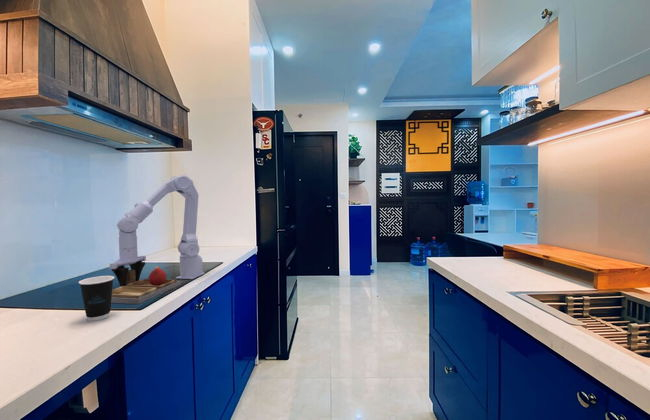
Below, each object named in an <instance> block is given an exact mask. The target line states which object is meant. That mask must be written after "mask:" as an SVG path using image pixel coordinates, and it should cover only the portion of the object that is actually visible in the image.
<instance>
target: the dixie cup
mask: <svg viewBox="0 0 650 420" xmlns="http://www.w3.org/2000/svg"><path fill="white" fill-rule="evenodd" d="M114 279H115V276H113V275H100V276H93V277H88V278H84V279H82V280H79V281H78V284H79V286H80V290H81V294H82V296H81V297H82V301H83V306H84V311H85V317H87V321H90V322H93V321H100V320H103V319H106V318H108V317H109V316H110V312H111V309H112V307H111V306H112V303H111V298H112V287H113V285H114Z"/></svg>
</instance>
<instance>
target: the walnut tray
mask: <svg viewBox="0 0 650 420" xmlns="http://www.w3.org/2000/svg"><path fill="white" fill-rule="evenodd" d="M176 281H177V280H176V279H167V278H166V281H165V282H164V283H163V284H162V285H161V286H153V285H151V284H150V282H149V278H142V279H139V281H136V278H135V270H131V269H128V273H127V283H126V286H127V287H154V288H157V289H162V288H164V287H166V286H169V285H171V284H174V283H176Z"/></svg>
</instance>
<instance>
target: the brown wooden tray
mask: <svg viewBox="0 0 650 420" xmlns="http://www.w3.org/2000/svg"><path fill="white" fill-rule="evenodd" d="M181 283H182V281H181V280H176V283H174V284H171V285H169V286H166V287H164V288H162V289H157V291H155V292H152V293H150V294H148V295H145V296H143V297H141V298H117V297H112V298H111V304H128V305H129V304H131V305H140V304H142V303H145V302H146V300H147V301H148V299H149V300H151V299H153V298H155V297H154V296H156V297H157V295H158V296H160V295H162V294H164V293H166V292H165V291H167V292H168V290H169V291H171V290H173V289H175V288H177V286H178V287H180V286H181V285H182V284H181ZM179 285H180V286H179ZM172 288H173V289H172ZM170 289H171V290H170ZM163 292H164V293H163ZM161 293H162V294H161ZM159 294H160V295H159ZM152 297H153V298H152ZM150 298H151V299H150ZM144 301H145V302H144Z"/></svg>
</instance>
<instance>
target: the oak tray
mask: <svg viewBox="0 0 650 420" xmlns="http://www.w3.org/2000/svg"><path fill="white" fill-rule="evenodd" d="M155 291H157V288H154V287H127V286H119V287H116V288H114V289H113V287H112V297H117V298H141V297H143V296H145V295H148V294H150V293H152V292H155Z"/></svg>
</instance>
